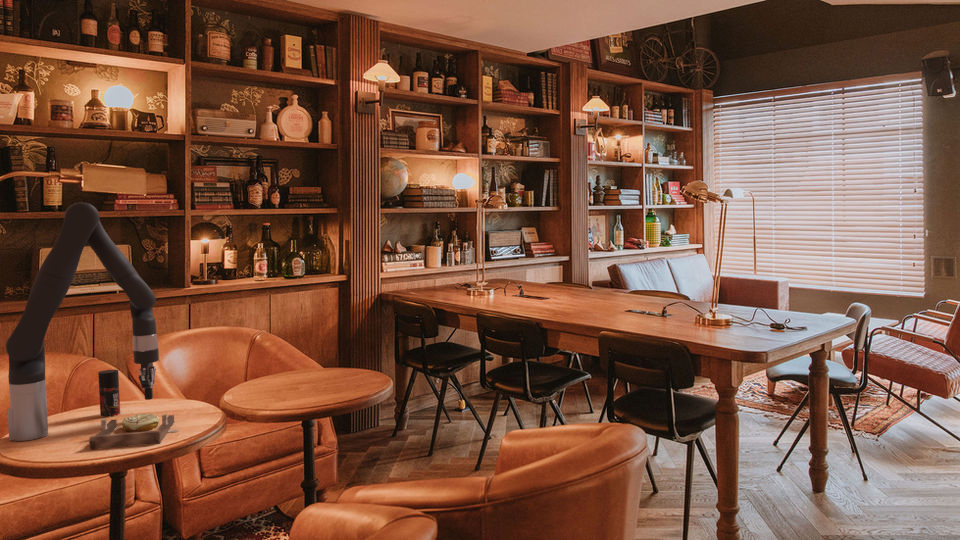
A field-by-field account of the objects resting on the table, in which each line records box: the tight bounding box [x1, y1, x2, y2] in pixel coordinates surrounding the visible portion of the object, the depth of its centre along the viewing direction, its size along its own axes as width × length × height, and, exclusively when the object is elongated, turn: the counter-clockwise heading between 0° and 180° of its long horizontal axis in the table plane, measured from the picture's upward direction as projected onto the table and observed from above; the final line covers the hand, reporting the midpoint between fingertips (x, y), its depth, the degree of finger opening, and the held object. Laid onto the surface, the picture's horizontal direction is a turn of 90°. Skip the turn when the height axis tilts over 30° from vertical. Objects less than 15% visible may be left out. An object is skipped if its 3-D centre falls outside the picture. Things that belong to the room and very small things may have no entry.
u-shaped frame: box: [89, 413, 178, 450], centre depth 202 cm, size 25×22×6 cm
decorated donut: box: [121, 413, 160, 433], centre depth 210 cm, size 10×11×4 cm
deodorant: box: [97, 369, 121, 417], centre depth 225 cm, size 6×6×15 cm
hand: (149, 399), depth 220 cm, fingers closed
